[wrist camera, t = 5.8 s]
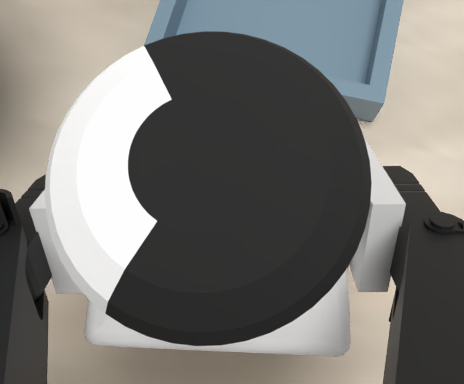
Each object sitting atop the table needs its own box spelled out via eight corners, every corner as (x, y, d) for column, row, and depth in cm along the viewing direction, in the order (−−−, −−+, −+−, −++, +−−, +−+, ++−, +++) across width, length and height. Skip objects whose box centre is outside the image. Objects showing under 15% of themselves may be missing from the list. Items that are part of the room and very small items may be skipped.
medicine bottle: (311, 173, 19) (404, -19, 8) (312, 336, 18) (437, 404, 6) (157, 169, 20) (27, -21, 8) (143, 329, 18) (-49, 379, 6)
